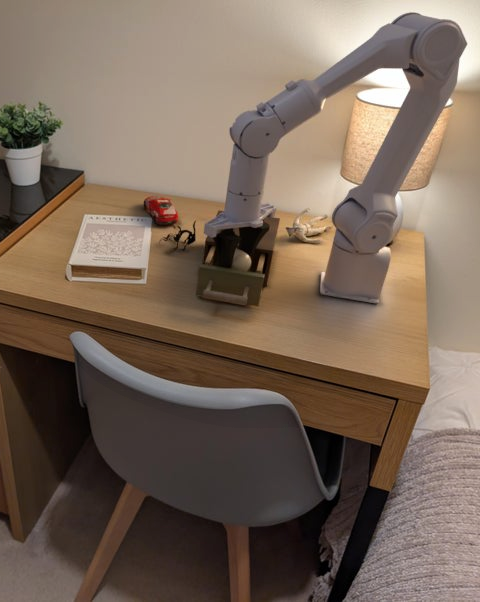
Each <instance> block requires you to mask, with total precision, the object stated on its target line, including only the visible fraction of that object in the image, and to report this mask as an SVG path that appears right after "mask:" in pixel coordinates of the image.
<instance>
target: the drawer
mask: <svg viewBox="0 0 480 602" xmlns="http://www.w3.org/2000/svg"><path fill="white" fill-rule="evenodd" d="M265 257H266V253H262V252H255V251H254V253H253V255H252V257H251V267H250V269H249V270H248V271H241V270H235V269H229V268H223V267H221V266H220V265H219V259H218V253H217V248H216V246H215V245H212V246H211V249H210V251H209V254H208V256H207V258H206V261H205V265H204V264H203V263H200V264H199V266H198V272H197V279H196V289H195V291H196V292H195V295H196V296H199V297H202V298H203V299H207V300H213V301H218V302H219V301H220V302H224V303H230V304H235V305H242V306H247V305H249V306H254V307H259V306H260V301H261V297H262V296H261V295H262V290H263V287H264V286H263V280H264V275H265V274H262V272H263V268H264V262H265Z"/></svg>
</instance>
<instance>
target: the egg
mask: <svg viewBox="0 0 480 602" xmlns="http://www.w3.org/2000/svg"><path fill="white" fill-rule="evenodd" d="M250 267H251V258H250V256H249V255H248V254H247V253H246V252H244V251H242V250H239V249H237V248H236V250H235V253H234V258H233V262H232V265H231V268H230V269H235V270H241V271H248V270H249V269H250Z"/></svg>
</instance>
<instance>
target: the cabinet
mask: <svg viewBox="0 0 480 602" xmlns="http://www.w3.org/2000/svg"><path fill="white" fill-rule="evenodd" d="M223 211H224V210H221V209H220V210H219V209H218V210H217V213H216V215H215V217H216V216H218V215H219V214H221V213H222V212H223ZM280 221H281V218H280V217H274V218H268V217H267V218H264V222H266V223H268V224H269V225H270V227H269V231H268V232H267V233H266V234H265V235H264V236H263V237H262V239H261V240H260V242H259V243H258V245H257V247H256V249H255V252H262V253H266V257H265V262H264V268H263V272H262V274H265V275H264V280H263V286H262V287H267V286H268V281H269V276H270V273H271V267H272V262H273V258H274V252H275V248H276V241H277V236H278V232H279V226H280ZM233 231H235V234H236V235H238V236H239V228H234V229H233ZM212 245H215V242H214V240H213V238H211V237H209V236H207V235H206V238H205V241H204V248H203V257H202V264H204V265H205V261H206V258H207V256H208V254H209V251H210V249H211V246H212ZM215 246H216V245H215ZM237 249H239V244H238V245H237Z"/></svg>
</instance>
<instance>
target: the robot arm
mask: <svg viewBox="0 0 480 602" xmlns="http://www.w3.org/2000/svg"><path fill="white" fill-rule="evenodd" d="M467 46H468V42H467V38H466V37H465V35H464V33H463V30H462V28H461V26H460V25H459V24H458V23H457V22H456V21H454V20H452V19H448V18H447V19H446V18H437V17H432V16H428V15H422V14H421V13H419V12H412V11H411V12H405V13H402V14H401V15H399V16H397V17H396V18H394V19H393V20H392V21H391V22H389V23H386V24H385V25H383V26H381V27H379V28H378V29H377V31H376V32H375V33H374V34H373V35H372V36H371V37H370V38H369V39H367V40H366V41H364V42H363V43H362V44H361V45H359V46H358V47H356V48H354V50H352V51H351V52H349V53H348V54H347V55H346V56H344V57H343V58H341V59H340V60H339V61H337V62H336V63H335V64H333V65H332V66H331V67H329V68H328V69H326V70H325V71H324V72H322V73H321V74H320V75H318V76H317V77H316V78H315V79H307V78H306V79H305V78H300V79H299V80H298V81H295V80H293V79H292V80H290V81H289V82H287V83H285V84H284V87H285V89H284V90H282V91H281V92H279V93H278V94H276V95H275V96H273V97H272V98H270V99H268V100H267V101H266V102H259V103H258V104H257V105H256V106H255V107H256V109H252V110H246V111H244V112H242V113H240V114H239V115H238V116H237V117H236V118H235V120H234V122H233V123H232V125H231V126H230V127H229V130H228V131H229V137H230V139H231V140H232V142H233V143H234V144H233V146H232V147H233V148H232V154H231V159H230V165H229V173H228V181H227V189H226V195H225V201H224V210H222V211H223V212H222V213H221V214H219V215H218V216H216V215H215V217H214V218H212V219H211V220H209V221H205V222H204V226H203V235H205V236H206V237H207V236H209V237H211V238H213V240H214V242H215V245H216V248H217V253H218V259H219V265H220V266H221V267H223V268H229V269H230V268H231V265H232V262H233V258H234V253H235V250H236V248H237V245H238V244H239V250H242V251H244V252H246V253H247V254H248V255H249V256H250V258H251V257H252V255H253V253H254V251H255V249H256V247H257V245H258V243H259V242H260V240H261V239H262V237H263V236H264V235H265V234H266V233H267V232H268V231H269V227H270V225H269V224H268V223H266V222H264V218H267V217H268V218H276V211H277V206H276V205H273V204H271V203H267V202H266V203H263V198H264V191H265V186H266V180H267V174H268V167H269V160H270V155H271V154H272V153H273V152H274V151H275V150H276V149H277V147H278V145H279V143H280V141H281V139H282V138H283V137H285V136H286V135H288V134H290V133H291V132H293V131H294V130H296V129H297V128H299V127H300V126H302V125H303V124H305V123H306V122H308V121H309V120H311V119H312V118H314V117H316V116H317V115H319V114H320V113H322V110H323V108H324V105H325V103H326V101H327V99H329V98H331V97H333V96H334V95H336V94H338V93H340V92H342V91H343V90H345V89H347V88H348V87H350V86H352V85H354V84H356V83H357V82H359V81H360V80H363V79H364V78H366V77H367V76H369V75H371V74H372V73H374V72H376V71H378V70H380V69H381V70H382V69H396V70H397V69H399V70H402V72H403V74H404V76H405V79H406V81H407V83H408V85H409V89H408V92H407V94H406V96H405V98H404V99H403V102H402V104H401V106H400V108H399V110H398V111H397V113H396V116H395V117H394V119H393V121H392V124H391V125H390V128H389V129H388V130H387V131H388V132H387V133H386V135H385V137H384V139H383V141H382V143H381V145H380V147H379V149H378V151H377V153H376V154H375V157H374V159H373V161H372V162H371V165H370V167H369V169H368V171H367V173H366V175H365V177H364V179H363V181H361V182H362V183H361V184H359V185H357V186H355V187H353V188H350V189H349V191H348V193H347V195H346V196H345V197H344V199H343V200H342V201H340V202H339V203H338V204H337V205H336V207H334V209H333V211H332V214H331V223H332V226H334V227H335V230H334V231H335V232H334V237H333V240H332V244H331V249H330V252H329V257H328V261H327V265H326V268H325V271H321V272H320V282H319V294H320V295H324V296H327V297H335V298H339V299H340V298H341V299H346V300H351V301H358V302H364V303H370V304H379V302H380V296H381V294H382V290H383V286H384V284H385V281H386V278H387V274H388V271H389V268H390V264H391V257H392V249H391V248H390V247H388V246H387V245H388V244H389V243H390V241H391V240H392V238H393V234H394V224H395V223H396V220H397V218H398V217H399V214H398V207H397V206H398V205H397V201H396V197H397V195H398V193H399V191H400V189H401V188H402V185H403V184H404V182H405V180H406V178H407V176H408V175H409V173H410V171H411V169H412V167H413V166H414V163H415V162H416V160H417V158H418V157H419V155H420V153H421V151H422V149H423V147H424V146H425V144H426V143H427V140H428V138H429V136H430V135H431V133H432V131H433V129H434V127H435V126H436V124H437V121H438V120H439V118H440V116H441V114H442V113H443V111H444V109H445V107H446V105H447V103H448V102H449V100H450V98H451V96H452V94H453V93H454V91H455V89H456V87H457V85H458V78H459V68H460V61H461V57H462V55H463V54H464V51H465V50H466V48H467ZM234 228H239V236H238V235H236V234H235V231H233V229H234Z"/></svg>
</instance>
